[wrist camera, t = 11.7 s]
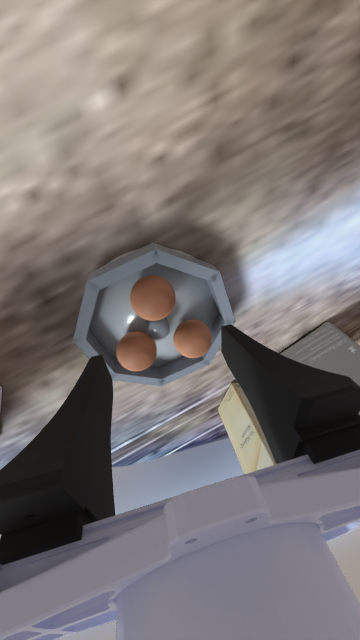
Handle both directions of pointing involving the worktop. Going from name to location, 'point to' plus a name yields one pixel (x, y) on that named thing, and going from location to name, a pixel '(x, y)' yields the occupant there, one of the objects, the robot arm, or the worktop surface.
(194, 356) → the bead seated
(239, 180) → the worktop surface
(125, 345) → the bead
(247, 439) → the skincare box
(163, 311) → the bead
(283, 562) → the robot arm
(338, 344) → the skincare box
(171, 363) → the groove tray
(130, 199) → the worktop surface
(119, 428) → the worktop surface
